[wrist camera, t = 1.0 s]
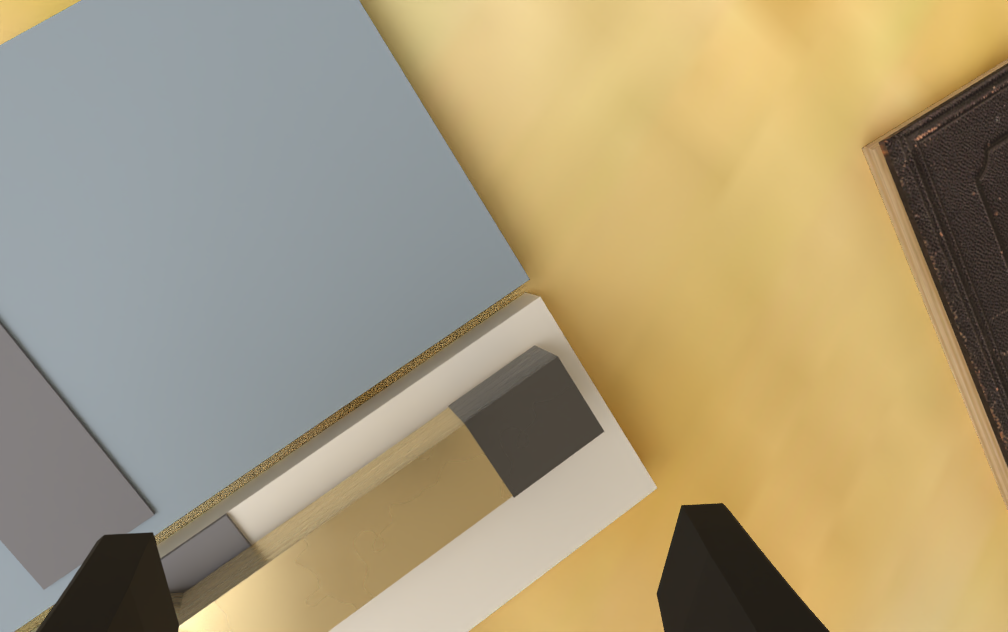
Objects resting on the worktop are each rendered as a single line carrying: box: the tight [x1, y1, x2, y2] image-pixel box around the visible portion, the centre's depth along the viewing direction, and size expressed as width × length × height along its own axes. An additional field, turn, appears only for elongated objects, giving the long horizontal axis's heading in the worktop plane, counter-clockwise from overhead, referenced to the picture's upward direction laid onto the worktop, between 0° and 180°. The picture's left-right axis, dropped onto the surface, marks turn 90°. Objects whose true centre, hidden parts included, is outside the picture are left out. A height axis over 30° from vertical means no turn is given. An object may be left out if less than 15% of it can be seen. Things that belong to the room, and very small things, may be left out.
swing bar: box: [171, 345, 604, 632], centre depth 22 cm, size 14×3×2 cm, turn 122°
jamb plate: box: [30, 292, 657, 632], centre depth 24 cm, size 7×22×2 cm, turn 122°
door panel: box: [0, 0, 530, 632], centre depth 20 cm, size 12×22×3 cm, turn 122°
